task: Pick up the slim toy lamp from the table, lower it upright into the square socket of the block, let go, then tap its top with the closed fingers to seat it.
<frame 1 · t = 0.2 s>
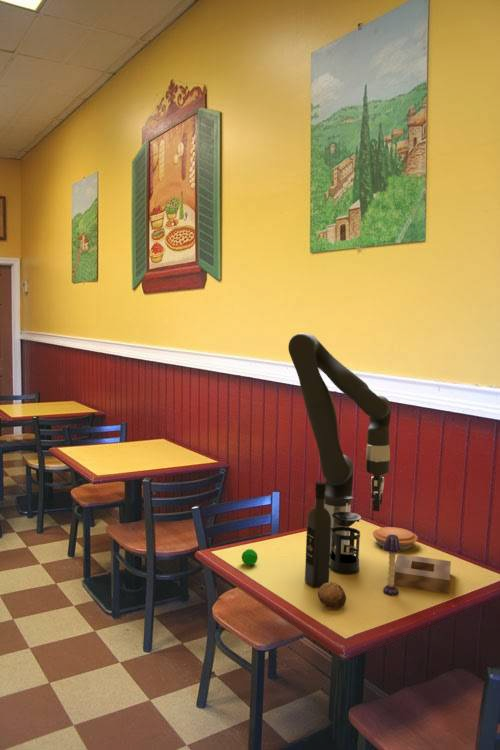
hand: (377, 507, 199), 18 cm above the table, fingers open, 8 cm apart
brown round lump: (331, 606, 166), on the table
green ball: (249, 565, 193), on the table
french press: (342, 568, 193), on the table
pie: (394, 545, 216), on the table
wine bottle: (316, 584, 180), on the table
toy lamp: (390, 593, 175), on the table
socket block: (421, 579, 186), on the table
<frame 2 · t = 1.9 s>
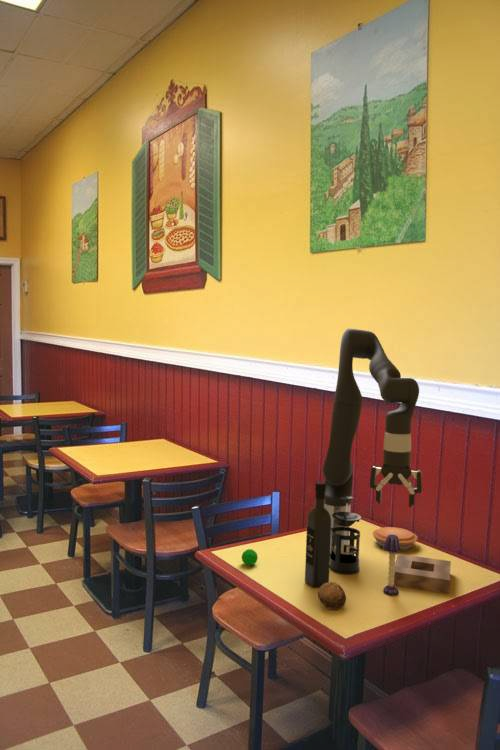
hand: (394, 504, 174), 26 cm above the table, fingers open, 8 cm apart
nothing on the table moved.
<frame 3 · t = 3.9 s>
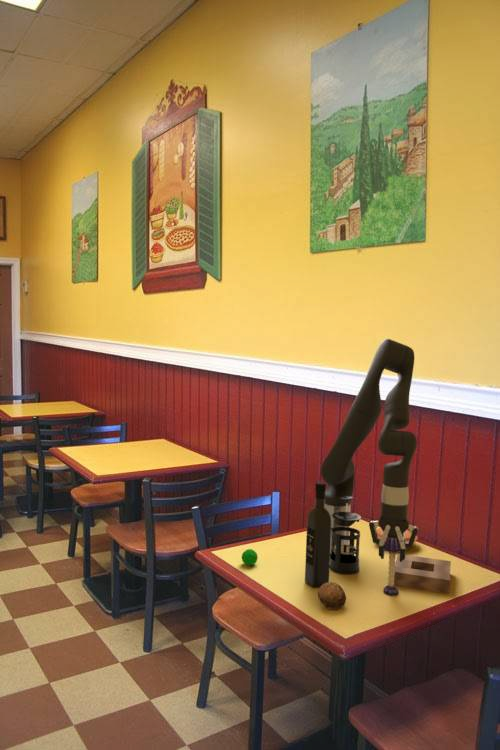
hand: (391, 559, 175), 10 cm above the table, fingers closed on toy lamp, 4 cm apart
toy lamp: (390, 593, 175), on the table, touching gripper
everything else where it was.
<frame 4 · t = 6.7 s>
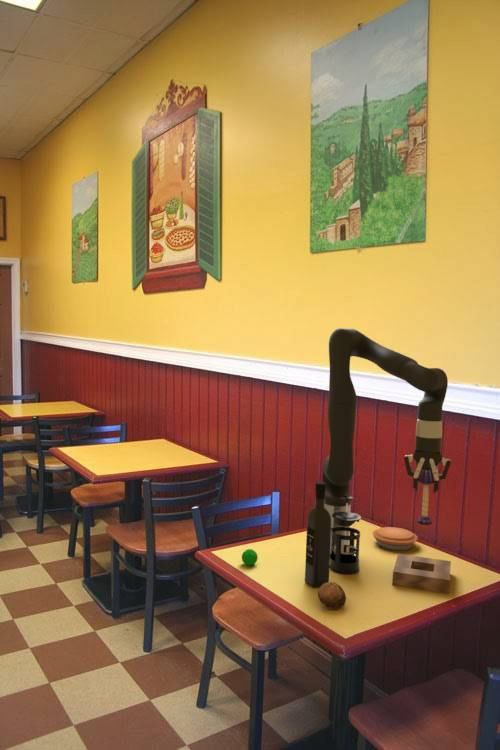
hand: (425, 490, 184), 27 cm above the table, fingers closed on toy lamp, 4 cm apart
toy lamp: (423, 523, 185), point 17 cm above the table, touching gripper
everything else where it was.
when the fingers open (11 cm above the table, at t = 9.9 s): toy lamp drops 1 cm, resting in socket block.
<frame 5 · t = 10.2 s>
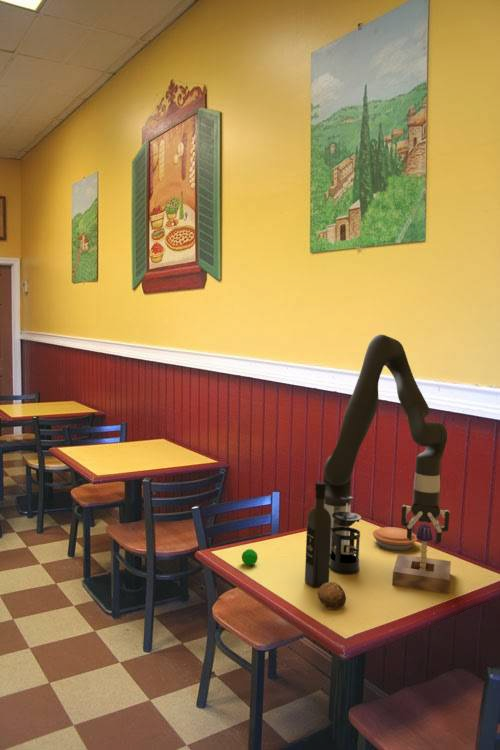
hand: (423, 541, 185), 12 cm above the table, fingers open, 7 cm apart
toy lamp: (421, 579, 186), resting in socket block
everything else where it was.
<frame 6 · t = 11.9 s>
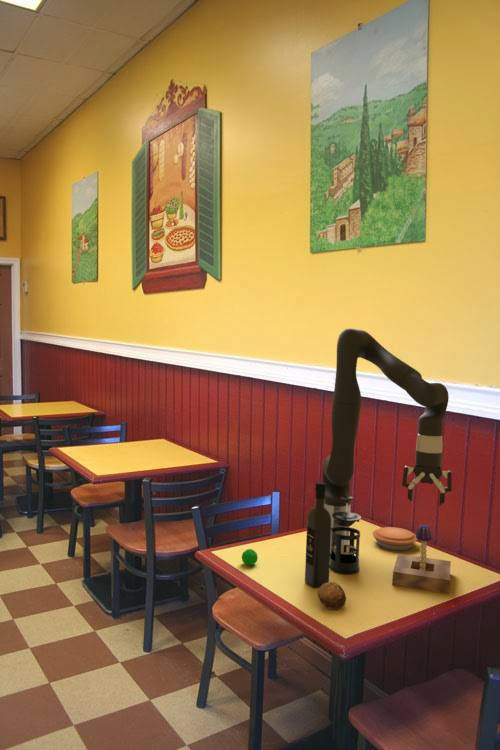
hand: (425, 502, 184), 24 cm above the table, fingers open, 8 cm apart
nothing on the table moved.
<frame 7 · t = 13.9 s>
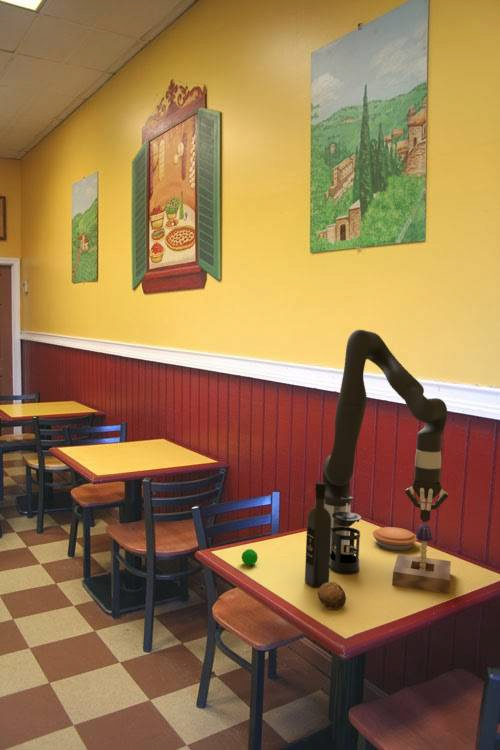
hand: (425, 521, 185), 18 cm above the table, fingers closed
nothing on the table moved.
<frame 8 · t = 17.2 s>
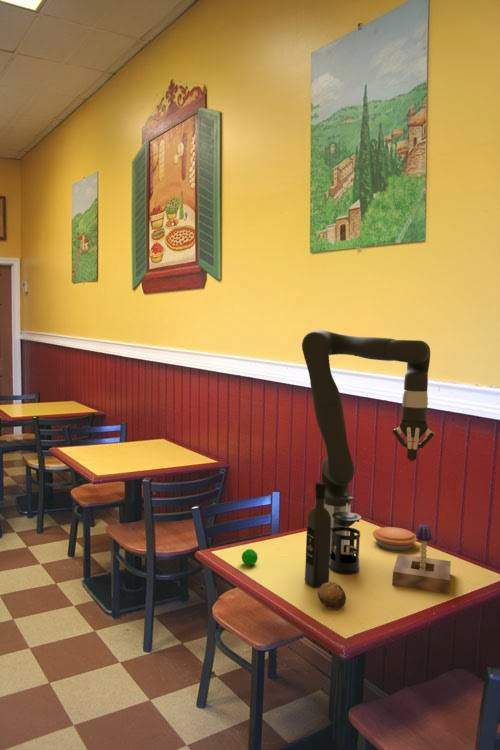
hand: (411, 460, 190), 35 cm above the table, fingers closed
nothing on the table moved.
at the end: toy lamp 0.1 cm off-centre on the socket block, point 0.0 cm above the socket block's base; toy lamp tilted 0°; the gripper is holding nothing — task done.
